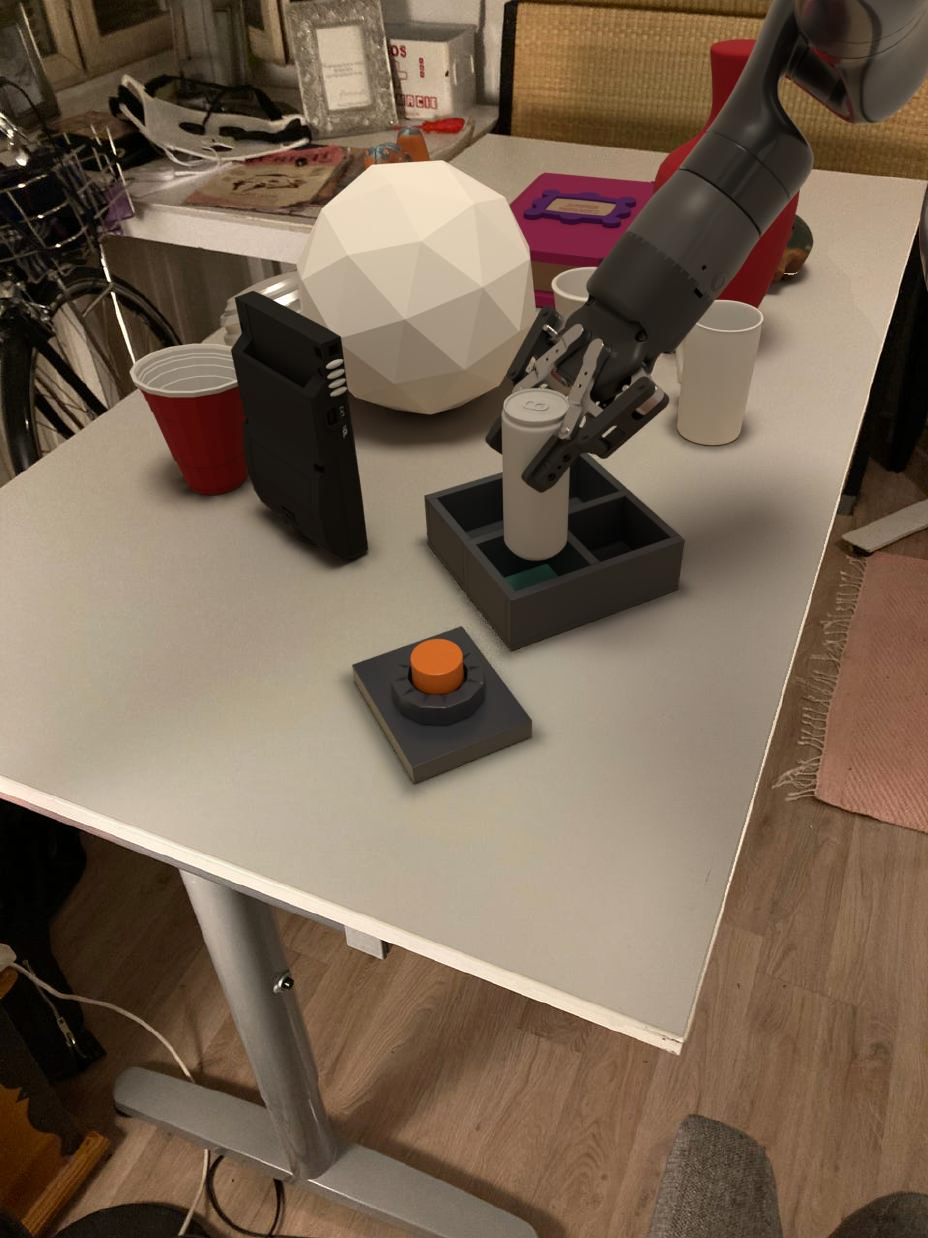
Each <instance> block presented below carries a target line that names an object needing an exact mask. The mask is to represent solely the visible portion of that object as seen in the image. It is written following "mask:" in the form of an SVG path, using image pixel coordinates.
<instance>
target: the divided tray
mask: <svg viewBox="0 0 928 1238" xmlns="http://www.w3.org/2000/svg"><path fill="white" fill-rule="evenodd" d="M423 498H424V499H423V500H424V508H425V509H424V510H425V512H424V513H425V524H426V526H425V527H426V540H427V545H428V547H429V548H430V549H431V551H432V552H433V553H434V554H435V555H436V557H437V558H438V559H439V561H440V562H441V563H442V564H443V565H444V567H445V568H446V569H447V571H448V572H449V573H450V574H451V576H452V577H453V579H454V580H455V581H456V582H457V584H458V585H459V586H460V588H461V589H462V590H463V591H464V593H465V594H466V595H467V596H468V599H470V601H471V602H472V603H473V604H474V605H475V607H476V608H477V609H478V610H479V612H480V614H481V615H482V616H483V617H484V619H486V621H487V622H488V624H489V625H490V626H491V627H492V629H494V631H495V633H496V634H497V635H498V636H499V638H501V640H502V641H503V643H504V644H505V646H506V647H507V648H508V650H510V651H511V652H513V651H515V650H518V649H521V648H524V647H526V646H529V645H531V644H535V643H537V642H540V641H542V640H545V639H548V638H550V637H553V636H556V635H559V634H562V633H564V632H567V631H570V630H573V629H575V628H578V627H580V626H584V625H586V624H589V623H592V622H594V621H596V620H599V619H602V618H605V617H607V616H610V615H613V614H615V613H618V612H621V611H624V610H627V609H630V608H633V607H635V606H638V605H640V604H642V603H646V602H649V601H651V600H654V599H656V598H660V597H662V596H664V595H667V594H670V593H673V592H675V591H678V590H679V584H680V578H681V571H682V563H683V558H684V550H685V544H686V543H685V542H686V539H685V538H684V537H683V536H681V534H679V533H678V532H677V531H676V530H675V529H674V528H673V527H672V526H670V525H669V523H667V522H666V521H665V520H664V519H662V517H660V516H659V515H658V514H657V513H656V512H655V511H654V510H652V509H651V508H650V507H649V506H648V505H647V504H646V503H645V502H644V501H642V500H641V499H640V498H639V497H638V496H637V495H636V494H634V493H633V492H632V491H631V490H630V489H629V488H627V486H626V485H624V484H623V483H622V482H621V481H620V480H619V479H617V477H615V476H614V475H613V474H612V473H610V471H608V469H606V468H605V467H604V466H603V465H602V464H601V463H600V462H598V461H597V459H595V458H594V457H592V455H591V454H590V453H586V454H581V455H579V456H578V457H577V458H576V459H575V461H574V462H573V463H572V464H571V466H570V472H569V500H568V527H567V542H566V544H565V546H564V548H563V549H562V550H561V551H560V552H559V553H558V554H556V555H554V556H553V557H551V558H548V559H544V560H527V559H523V558H521V557H519V556H517V555H516V554H514V553H513V552H512V551H511V550H510V549H509V548H508V547H507V545H506V543H505V541H504V516H503V471H501V472H497V473H495V474H490V475H488V476H484V477H481V478H478V479H475V480H471V481H468V482H465V483H461V484H458V485H455V486H451V487H447V488H445V489H442V490H438V491H435V492H431V493H428V494H425V495H424V497H423Z"/></svg>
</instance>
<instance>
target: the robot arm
mask: <svg viewBox="0 0 928 1238" xmlns="http://www.w3.org/2000/svg"><path fill="white" fill-rule="evenodd" d="M755 40H756V43H755V45H754V48H753V50H752V52H751V54H750V57H749V59H748V61H747V63H746V65H745V67H744V69H743V71H742V73H741V75H740V77H739V79H738V81H737V83H736V85H735V87H734V89H733V91H732V93H731V94H730V96H729V98H728V99H727V101H726V103H725V105H724V106H723V108H722V109H721V111H720V113H719V114H718V116H717V117H716V119H715V120H714V121H713V123H712V124H711V126H710V127H709V128H708V130H707V131H706V132H705V134H704V135H703V136H702V137H701V139H700V140H699V141H698V143H697V144H696V145H695V147H694V148H693V149H692V151H691V152H690V153H689V155H688V156H687V157H686V158H685V160H684V161H683V162H682V164H681V165H680V166H679V168H678V170H676V172H675V173H674V174H673V175H672V176H671V177H670V179H669V180H668V181H667V182H666V183H665V184H664V185H663V186H662V187H661V188H660V189H659V190H658V191H657V192H656V193H655V194H654V195H653V196H652V197H651V198H650V200H649V201H648V202H647V203H646V205H645V206H644V207H643V209H642V210H641V211H640V213H639V214H638V215H637V216H636V218H635V219H634V220H633V222H632V223H631V224H630V226H629V227H628V228H627V230H626V231H625V232H624V233H623V235H622V236H621V237H620V239H619V240H618V241H617V243H616V244H615V245H614V247H613V248H612V249H611V251H610V252H609V253H608V255H607V256H606V257H605V258H604V260H603V261H602V262H601V264H600V265H599V266H598V268H597V269H596V270H595V272H594V273H593V274H592V276H591V277H590V278H589V279H588V281H587V284H586V289H587V292H588V293H589V297H588V300H587V301H586V303H585V304H584V305H583V306H581V307H580V308H579V309H578V310H576V311H575V312H573V313H572V314H571V315H570V316H567V315H563V314H559V313H558V312H557V311H556V309H554V308H552V307H551V306H550V305H546V306H544V307H541V308H540V310H539V312H538V313H537V315H536V316H537V317H536V319H535V321H534V323H533V325H532V327H531V328H530V330H529V332H528V334H527V336H526V338H525V340H524V341H523V343H522V345H521V347H520V349H519V351H518V352H517V354H516V356H515V358H514V360H513V362H512V363H511V365H510V367H509V369H508V371H507V373H506V375H505V377H506V379H507V380H509V381H510V382H511V385H512V394H513V393H515V392H518V391H521V390H525V389H532V388H540V387H541V386H542V385H546V386H545V387H544V388H543V389H549V390H553V391H557V392H559V393H561V394H563V395H564V396H565V397H567V399H568V404H569V408H568V411H567V413H566V415H565V417H564V419H563V421H562V423H561V426H560V428H559V430H558V437H556V436H555V435H552V436H551V437H550V438H549V440H548V441H547V442H546V443H545V445H544V446H543V447H542V448H541V450H540V451H539V452H538V454H537V455H536V456H535V457H534V459H533V460H532V461H531V462H530V464H529V465H528V466H527V468H526V469H525V470H524V471H523V473H522V475H521V478H522V480H523V481H524V482H525V483H526V484H527V485H528V486H530V487H531V488H533V489H535V490H536V491H538V492H539V493H543V492H545V491H547V490H548V489H550V488H552V487H553V486H554V485H555V484H556V483H557V482H558V481H559V479H560V478H561V477H562V476H563V473H565V472H566V471H567V469H568V468H569V467H570V466H571V464H572V463H573V462H574V461H575V459H576V458H577V457H578V456H579V455H581V454H586V453H588V454H589V455H595V456H596V457H598V458H599V459H602V460H605V459H608V458H609V457H611V456H612V455H613V454H614V453H615V452H616V451H618V449H620V448H621V447H622V446H623V445H625V444H626V443H627V442H629V440H630V439H632V437H633V436H635V435H636V434H637V433H638V432H639V431H641V430H642V429H643V428H644V427H645V426H646V425H648V424H649V423H650V422H651V421H652V420H653V419H655V418H656V417H657V416H658V415H659V414H660V413H662V412H663V411H664V410H665V409H666V408H667V407H668V406H669V403H670V399H671V398H670V396H669V395H668V394H667V393H666V392H665V391H664V390H663V389H662V388H661V386H659V385H658V384H656V382H655V380H654V379H653V377H652V376H651V374H652V373H653V370H654V367H655V364H656V362H657V360H658V358H659V357H660V355H662V354H663V355H670V354H672V353H674V352H676V348H677V347H678V346H679V345H680V343H681V342H682V341H683V340H684V338H685V337H686V336H687V335H688V333H689V332H690V331H691V330H692V328H693V327H694V326H695V325H696V323H697V322H698V321H699V320H700V318H701V317H702V316H703V315H704V314H705V312H706V311H707V310H708V309H709V307H710V306H711V305H712V304H713V302H714V301H715V300H716V298H717V297H718V296H719V295H720V294H721V292H722V291H723V290H724V289H725V287H726V286H727V285H728V284H729V282H730V281H731V280H732V279H733V278H734V276H735V275H736V274H737V272H738V271H739V270H740V268H741V267H742V265H743V264H744V262H745V260H746V259H747V257H748V255H749V254H750V252H751V251H752V249H753V247H754V246H755V245H756V243H757V242H758V240H759V238H760V237H761V236H762V235H763V234H764V233H765V231H766V230H767V229H768V228H769V227H770V225H771V224H772V223H773V222H774V220H775V219H776V218H777V217H778V215H779V214H780V213H781V212H782V210H783V209H784V208H785V207H786V205H787V204H788V203H789V202H790V200H791V199H792V198H793V197H794V196H795V194H796V193H797V192H798V191H799V189H800V190H801V188H802V187H803V185H804V184H805V183H806V181H807V180H808V178H809V177H810V175H811V173H812V171H813V167H814V163H815V158H814V152H813V150H812V147H811V144H810V143H809V141H808V140H807V138H806V137H805V135H804V134H803V132H802V131H801V129H800V128H799V126H798V125H797V124H796V122H795V121H794V120H793V118H791V117H790V115H789V114H788V113H787V111H786V109H785V107H784V105H783V103H782V101H781V99H780V92H779V89H780V85H781V83H783V80H784V79H787V80H790V81H792V83H793V84H795V86H797V87H798V88H800V89H801V90H802V91H804V92H805V93H806V94H807V95H808V96H810V97H811V98H813V99H814V100H815V101H816V102H818V104H820V105H822V106H823V107H824V108H826V109H827V110H828V111H829V112H831V113H832V114H833V115H835V116H836V117H837V118H839V119H841V120H842V121H844V122H846V123H848V124H851V125H856V126H870V125H875V124H879V123H881V122H883V121H885V120H887V119H889V118H891V117H892V116H894V115H895V114H897V113H898V112H899V111H900V110H901V109H902V108H904V106H906V104H908V103H909V102H910V101H911V99H912V98H913V97H914V96H915V95H916V93H917V92H918V91H919V90H920V88H921V86H922V85H923V83H924V82H925V80H926V79H927V77H928V0H772V1H771V3H770V6H769V9H768V11H767V14H766V15H765V18H764V20H763V24H762V26H761V28H760V30H759V32H758V35H757V38H756V39H755ZM918 229H919V231H918V232H919V233H918V234H919V235H918V238H919V239H918V240H919V242H918V243H919V252H920V260H921V264H922V271H923V277H924V281H925V286H926V287H925V288H926V290H927V291H928V182H927V184H926V187H925V190H924V195H923V199H922V204H921V208H920V214H919V228H918ZM533 358H534V360H535V362H534V364H533V366H532V368H531V370H530V372H528V371H526V370H527V368H528V366H529V365H530V362H531V361H532V359H533ZM584 418H585V421H584V423H583V425H582V426H581V424H582V421H583V420H584ZM613 427H614V428H613ZM611 428H613V429H611ZM610 429H611V431H609V430H610ZM608 431H609V432H608ZM607 432H608V433H607ZM606 433H607V434H606ZM605 434H606V435H605ZM603 435H605V436H603ZM484 441H485V444H487V445H488V446H489V447H490V448H491V449H493V450H494V451H495V452H496V453H499V454H500V455H501V456H502V412H500V414H499V415H498V417H497V418H496V420H495V421H494V422H493V423H492V425H491V426H490V428H489V430H488V432H487V434H486V436H485V439H484ZM926 1238H928V1233H927V1235H926Z"/></svg>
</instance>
